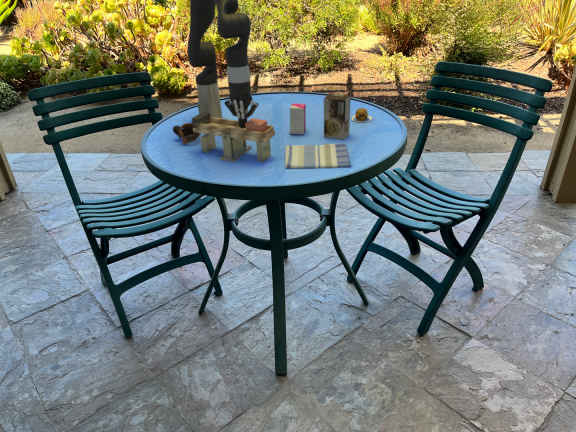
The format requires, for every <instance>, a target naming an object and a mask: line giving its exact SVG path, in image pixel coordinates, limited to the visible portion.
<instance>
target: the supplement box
mask: <svg viewBox="0 0 576 432" xmlns="http://www.w3.org/2000/svg"><path fill="white" fill-rule="evenodd" d="M291 103H292V102H291ZM306 107H307V105H306V104H305V103H292V104H291V105H290V106H289V135H290V136H304V135H305V132H306V128H307V127H306V126H307V125H306V119H307V118H306V115H307V114H306V113H307V111H306V110H307V108H306Z"/></svg>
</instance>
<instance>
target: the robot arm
mask: <svg viewBox="0 0 576 432" xmlns="http://www.w3.org/2000/svg"><path fill="white" fill-rule="evenodd" d="M189 1H190V3H189V5H190V6H189V7H190V8H189V10H190V11H189V16H190V17H189V18H190V19H189V32H188V33H189V34H188V39H187V40H188V44H187V61H188V63H189V65H190V66H191V67H192V68H196V69H197V68H202V67H204V69H203V70H202V71H201V72H199V73H198V74H197V75H195V84H196V85H195V86H196V90H197V96H198V100H197V101H196V103H197V109H198V110H197V111H198V114H200V113H202V112H210V114H211V117H215V118H222V119H223V112H222V105H221V97H220V89H219V88H220V87H219V81H218V75H219V74H218V65H217V63H218V62H217V54H216V49H215V45H214V44H213V43H212V42H210V41H204V42H203V41H202V40H203V37H204V36H205V34H206V32H207V31H208V30H209V28H210V27H211V25H212V24H213V21H214V20H215V16H216V12H217V23H216V26H217V27H216V28H217V33H218V35H219V36H220V37H221V38H222V39H226V40H228V39H237V38H238V39H237V40H238V41H237V42H235V43H234V44H232V45H229V46H227V47H226V48H225V59H226V66H227V67H226V73H227V74H226V75H227V76H226V77H227V84H228V93H229V96H228V99H227V100H225V101H224V102H223V103H224V105H225V107H226V108H227V109H228V110H229V112H230V114H231V115H232V116H233V117H236V118H237V121H239V127H240V128H242V129H245V128H246V126H245V123H246V122H248V119H249V118H250V117H251V116H253V114H254V113H255V111H256V110H257V108H258V107H259V102H255V101H254V100H253V97H252V85H251V84H252V83H251V73H250V72H251V71H250V67H249V58H248V47H249V39H250V35H251V29H252V22H251V19H250V17H249V16H248V14H247V13H245V12H238V10H239V8H240V7H239V0H189ZM249 108H250V109H249Z"/></svg>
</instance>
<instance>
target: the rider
mask: <svg viewBox="0 0 576 432" xmlns="http://www.w3.org/2000/svg"><path fill="white" fill-rule="evenodd" d="M267 125H268V120H266V119H259V118H250V119H249V120H247V122H246V123H245V126H246V130H250V131H257V132H263V134H264V132H265V131H267Z"/></svg>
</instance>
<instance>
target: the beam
mask: <svg viewBox="0 0 576 432" xmlns="http://www.w3.org/2000/svg"><path fill="white" fill-rule="evenodd" d="M190 119H191V123H192V126H193V132H197V133H201V134H203V135H204V134H210V135H215V136H217V137H222V133H228V134H230V137H231V138H235V139H242V140H246V141H247V142H248V141H249V142H255V143H256V142H261V143H266V142H267V141H268V140H270V141H271V139H272V138H273V137H274V136H275V135H276V130H275V128H274V126H273V125H272V124H271V125H270V124H267V131H265V132H264V134H263V132H257V131H250V130H246V128H245V129H242V128H240V127H239V121H238V120H235V119H228V118H223V117H222V118H215V117H211V114H210V112H202V113H200V114H199V113H198V114H197V115H195V116H193V117H191V118H190Z"/></svg>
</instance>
